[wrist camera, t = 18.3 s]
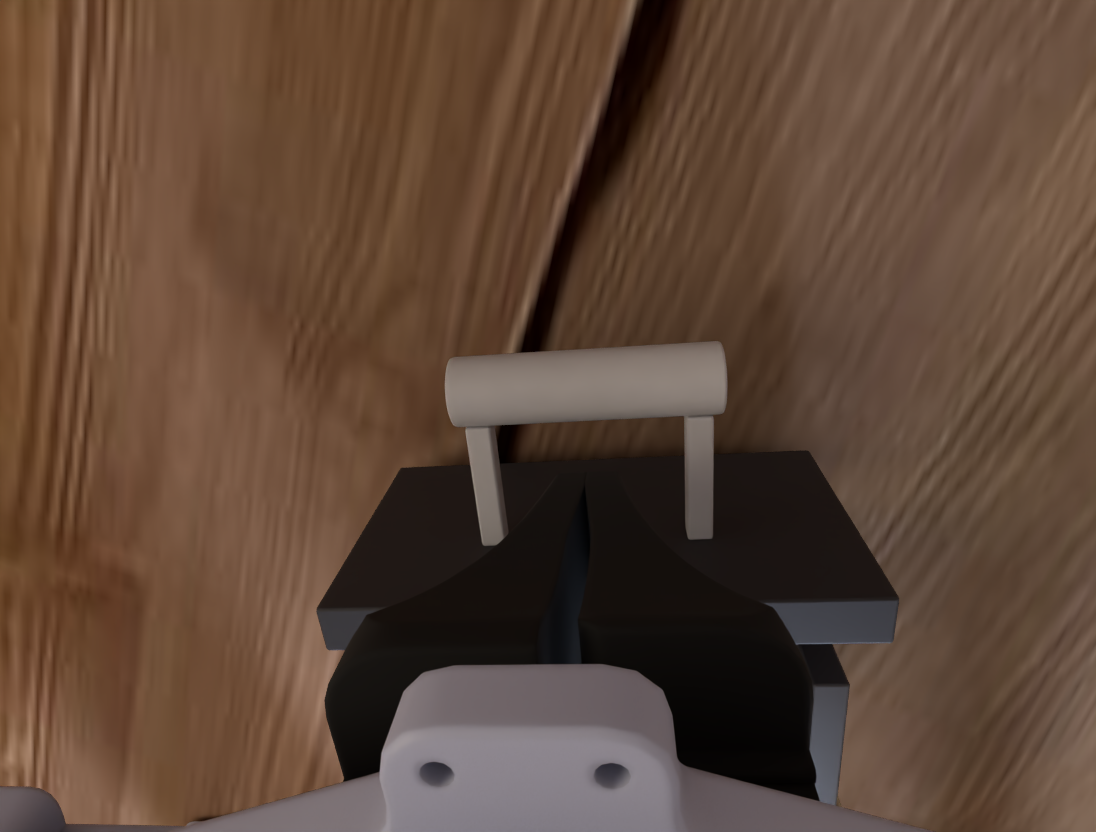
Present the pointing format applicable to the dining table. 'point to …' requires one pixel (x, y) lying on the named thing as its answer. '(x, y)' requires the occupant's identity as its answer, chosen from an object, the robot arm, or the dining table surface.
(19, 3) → the dining table surface
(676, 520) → the pod drawer
